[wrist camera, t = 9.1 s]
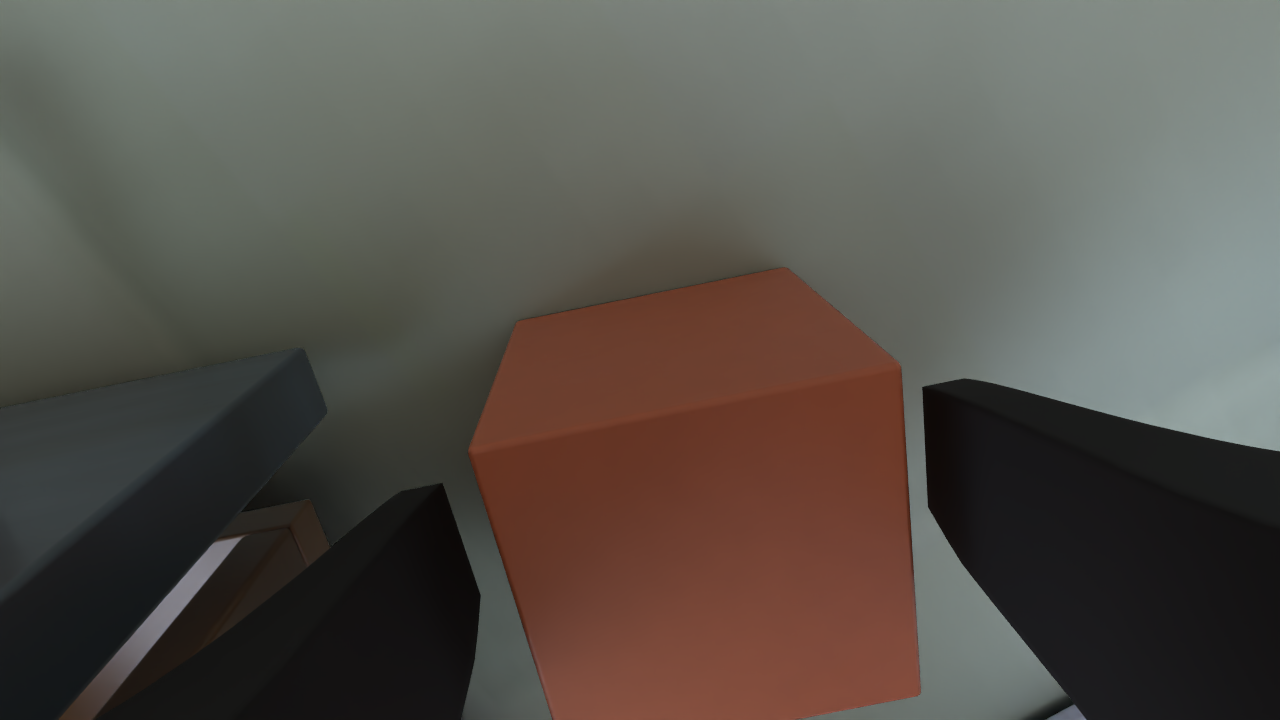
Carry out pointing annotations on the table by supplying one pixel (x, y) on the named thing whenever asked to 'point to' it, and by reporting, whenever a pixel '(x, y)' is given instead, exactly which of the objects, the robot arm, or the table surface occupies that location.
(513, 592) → the block
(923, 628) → the table surface
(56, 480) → the drawer
